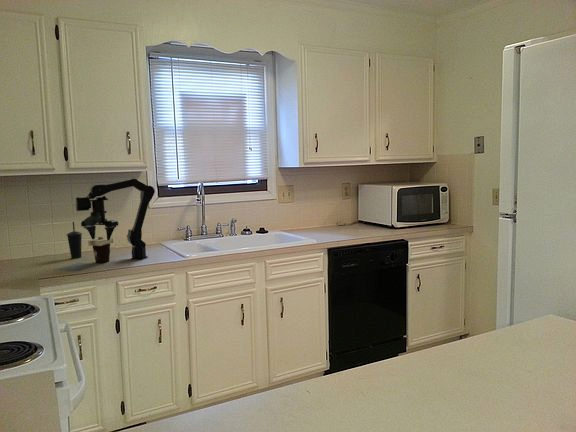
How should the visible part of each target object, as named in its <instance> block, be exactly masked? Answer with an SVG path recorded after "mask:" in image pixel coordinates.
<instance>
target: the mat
mask: <svg viewBox="0 0 576 432" xmlns="http://www.w3.org/2000/svg"><path fill="white" fill-rule="evenodd" d="M99 265H100V263H91V262H90V263H89V262H76V263H72V264H70V265H69V264H68V265H66V266H63V267H58V268H56V269H54V271H66V272H79V271H82V270H85V269H89V268H92V267H94V266H95V267H96V266H99Z"/></svg>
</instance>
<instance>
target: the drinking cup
mask: <svg viewBox="0 0 576 432" xmlns="http://www.w3.org/2000/svg"><path fill="white" fill-rule="evenodd" d="M82 236H83V233H82V232H80V231H77V230H75V221H72V231H70V232H68V233H67V234H66V237H67V242H68V246H69V252H70V257H71V259H73V260H75V259H77V260H78V259H80V258H82Z"/></svg>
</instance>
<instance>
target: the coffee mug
mask: <svg viewBox="0 0 576 432" xmlns="http://www.w3.org/2000/svg"><path fill="white" fill-rule="evenodd" d="M92 250H93V255H94V261H95V264H107V263H109V262H110V258H111V257H110V255H111V243H110V244H106V245H102V246H92Z"/></svg>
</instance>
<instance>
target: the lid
mask: <svg viewBox="0 0 576 432" xmlns="http://www.w3.org/2000/svg"><path fill="white" fill-rule="evenodd" d="M87 243H88V247H89V246H91V247H93V246H102V245H106V244H110V245H111V244H113V243H114V238H113V237H110V240H107V237H103V236H99V237H97V238H95V239H93V240H92V239H89V240H88V242H87Z"/></svg>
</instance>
